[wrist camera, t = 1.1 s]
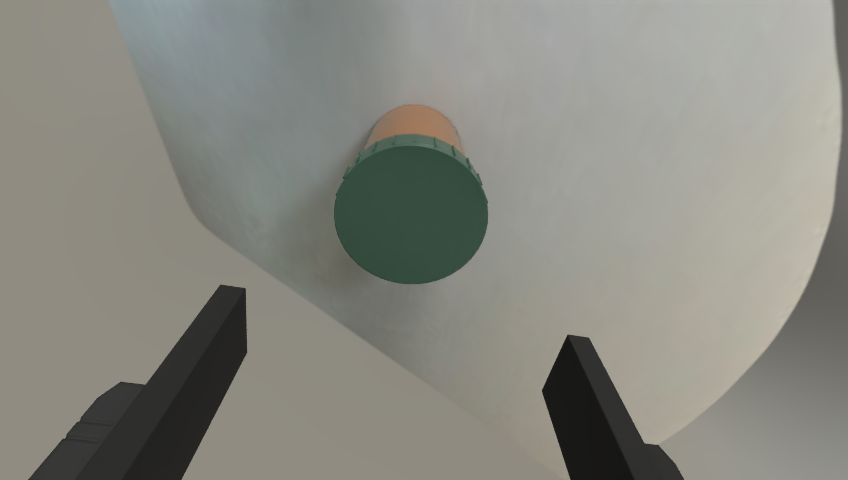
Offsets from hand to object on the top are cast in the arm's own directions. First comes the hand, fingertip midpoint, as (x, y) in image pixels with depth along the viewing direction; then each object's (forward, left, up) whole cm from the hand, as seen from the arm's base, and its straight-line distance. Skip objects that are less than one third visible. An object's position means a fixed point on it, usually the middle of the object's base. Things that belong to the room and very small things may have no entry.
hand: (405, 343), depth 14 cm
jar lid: (0, 0, -10) cm, 10 cm away
